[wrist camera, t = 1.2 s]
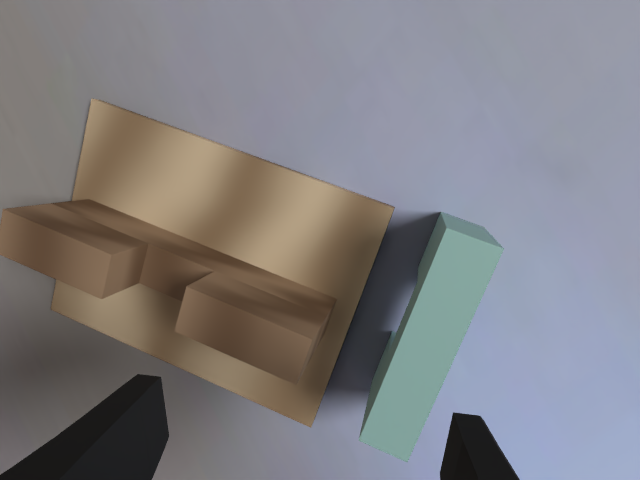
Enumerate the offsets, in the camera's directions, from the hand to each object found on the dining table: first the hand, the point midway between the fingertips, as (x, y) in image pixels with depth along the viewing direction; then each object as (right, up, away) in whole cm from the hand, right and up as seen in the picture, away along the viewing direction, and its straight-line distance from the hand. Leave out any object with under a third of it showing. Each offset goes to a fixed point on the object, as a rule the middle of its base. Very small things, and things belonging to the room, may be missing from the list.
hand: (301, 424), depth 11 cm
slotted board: (-5, +3, +12) cm, 14 cm away
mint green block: (+5, +1, +10) cm, 11 cm away
